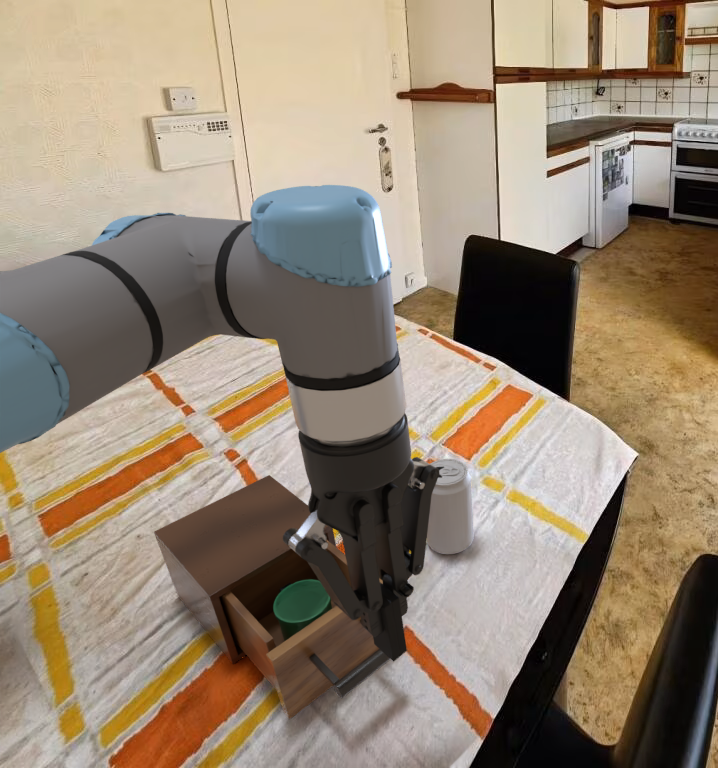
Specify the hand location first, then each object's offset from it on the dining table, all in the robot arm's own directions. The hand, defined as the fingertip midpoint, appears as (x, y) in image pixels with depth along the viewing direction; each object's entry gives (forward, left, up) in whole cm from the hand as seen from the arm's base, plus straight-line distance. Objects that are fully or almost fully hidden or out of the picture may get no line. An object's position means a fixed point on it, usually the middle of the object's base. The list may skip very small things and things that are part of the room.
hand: (390, 647), depth 55 cm
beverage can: (-17, +22, -14) cm, 31 cm away
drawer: (-13, 0, -13) cm, 18 cm away
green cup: (-16, 0, -11) cm, 20 cm away
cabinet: (-28, 0, -13) cm, 31 cm away
